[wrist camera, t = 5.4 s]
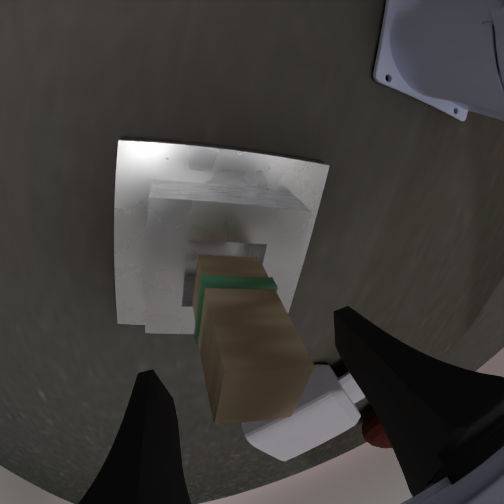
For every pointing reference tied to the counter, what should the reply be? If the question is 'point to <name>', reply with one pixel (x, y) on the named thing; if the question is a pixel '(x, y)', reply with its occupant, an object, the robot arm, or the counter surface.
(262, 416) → the post
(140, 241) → the stand
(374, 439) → the potato
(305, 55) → the counter surface
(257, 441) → the charger
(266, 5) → the counter surface
